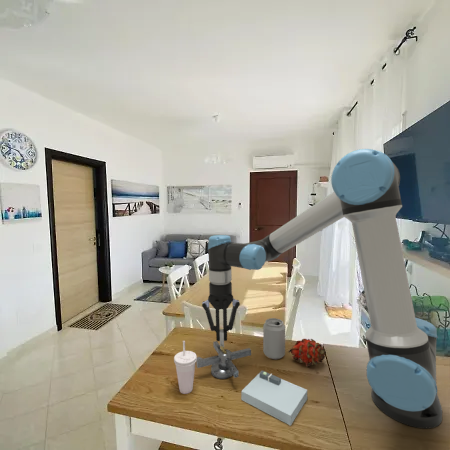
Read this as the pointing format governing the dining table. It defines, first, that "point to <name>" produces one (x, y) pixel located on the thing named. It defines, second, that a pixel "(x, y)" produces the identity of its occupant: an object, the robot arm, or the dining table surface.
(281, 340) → the can
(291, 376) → the dining table surface
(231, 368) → the capstan
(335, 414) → the dining table surface
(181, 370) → the smoothie
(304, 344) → the dragon fruit
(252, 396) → the pale grey switch box
